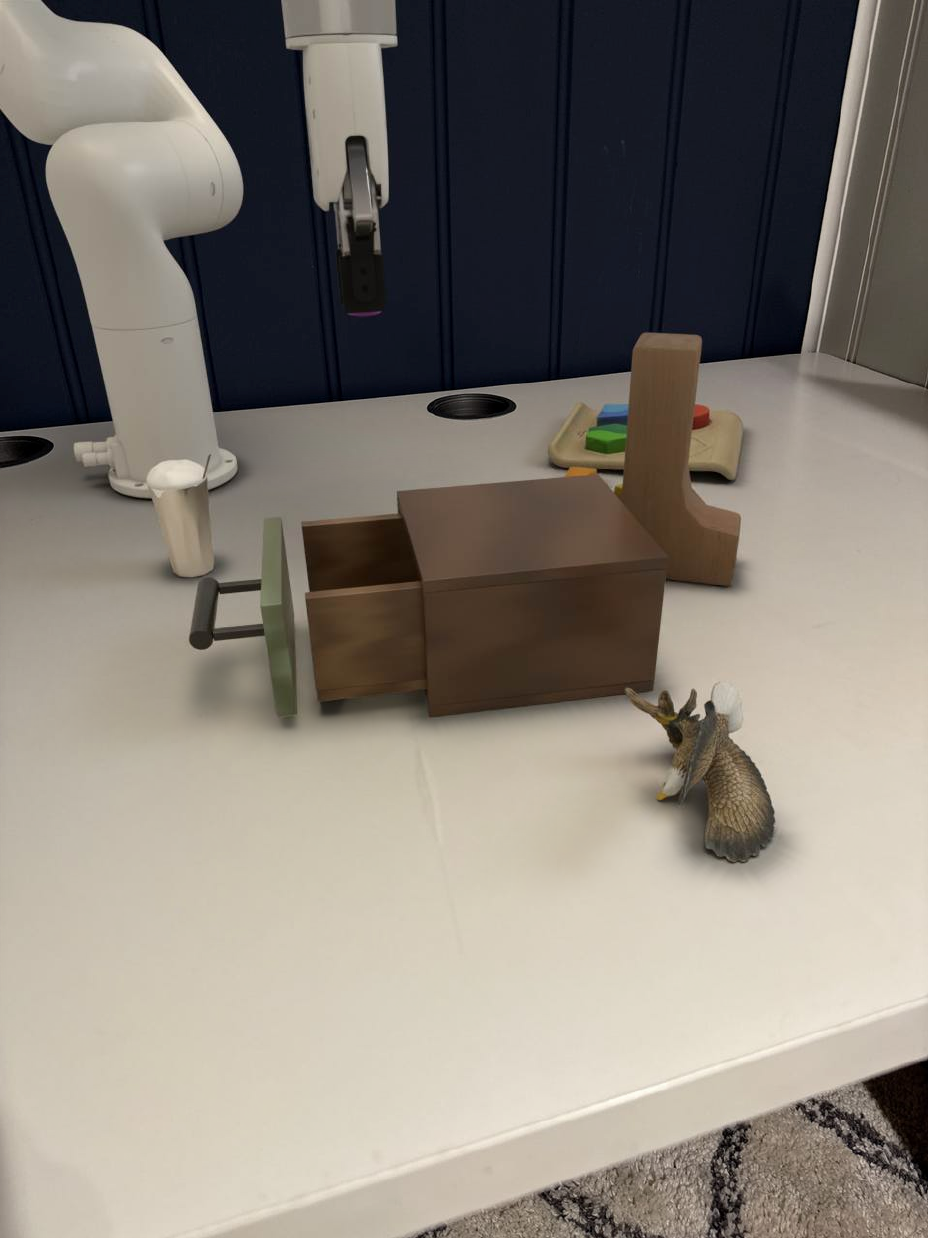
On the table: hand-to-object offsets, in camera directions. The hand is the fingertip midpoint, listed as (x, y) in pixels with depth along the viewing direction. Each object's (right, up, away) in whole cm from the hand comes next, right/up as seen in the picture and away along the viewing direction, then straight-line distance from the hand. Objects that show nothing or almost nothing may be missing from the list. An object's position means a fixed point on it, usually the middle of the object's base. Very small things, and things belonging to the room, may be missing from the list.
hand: (363, 304), depth 69 cm
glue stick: (0, 0, 0) cm, 1 cm away
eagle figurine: (+21, -34, -20) cm, 45 cm away
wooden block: (+25, -20, +3) cm, 32 cm away
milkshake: (-14, -20, +4) cm, 25 cm away
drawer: (0, -27, -9) cm, 28 cm away
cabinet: (+12, -26, -7) cm, 30 cm away
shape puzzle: (+27, -8, +24) cm, 37 cm away
